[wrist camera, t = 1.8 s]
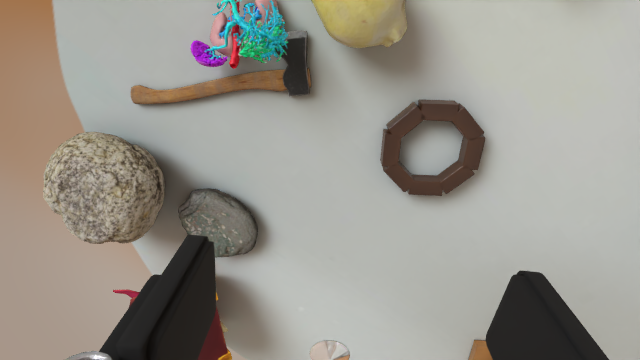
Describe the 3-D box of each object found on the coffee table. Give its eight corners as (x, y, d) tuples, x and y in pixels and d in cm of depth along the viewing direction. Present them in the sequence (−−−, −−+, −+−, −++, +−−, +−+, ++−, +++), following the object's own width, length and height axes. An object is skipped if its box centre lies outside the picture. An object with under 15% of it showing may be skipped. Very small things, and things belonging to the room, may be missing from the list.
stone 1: (160, 232, 37) (75, 182, 37) (187, 162, 33) (90, 104, 32) (117, 272, 32) (17, 214, 31) (143, 196, 27) (26, 126, 27)
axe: (306, 29, 28) (315, 93, 30) (306, 28, 28) (315, 91, 30) (114, 57, 29) (136, 116, 31) (119, 56, 30) (140, 114, 32)
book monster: (238, 368, 37) (216, 299, 47) (222, 298, 33) (203, 240, 44) (124, 416, 33) (128, 330, 43) (93, 343, 30) (105, 268, 40)
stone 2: (273, 231, 35) (275, 220, 37) (202, 179, 33) (208, 171, 35) (231, 276, 36) (235, 263, 38) (161, 229, 34) (169, 219, 36)
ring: (487, 101, 30) (493, 105, 29) (466, 190, 34) (471, 197, 32) (386, 98, 30) (388, 102, 29) (377, 186, 34) (378, 193, 33)
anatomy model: (173, -42, 25) (159, 43, 23) (282, -60, 23) (275, 31, 22) (210, 10, 30) (200, 83, 28) (302, -2, 28) (298, 75, 27)
